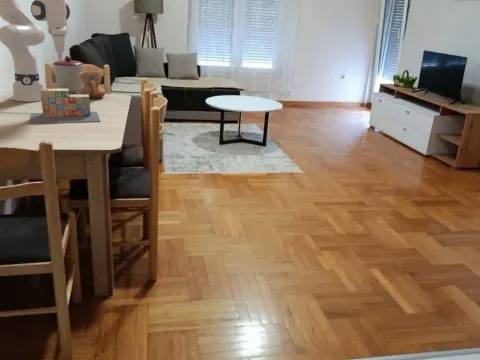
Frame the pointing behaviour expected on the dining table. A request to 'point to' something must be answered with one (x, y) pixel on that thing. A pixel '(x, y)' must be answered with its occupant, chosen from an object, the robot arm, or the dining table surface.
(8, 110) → the dining table surface
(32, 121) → the charcoal mat
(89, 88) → the ceramic jug
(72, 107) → the stack of blocks
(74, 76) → the canister
